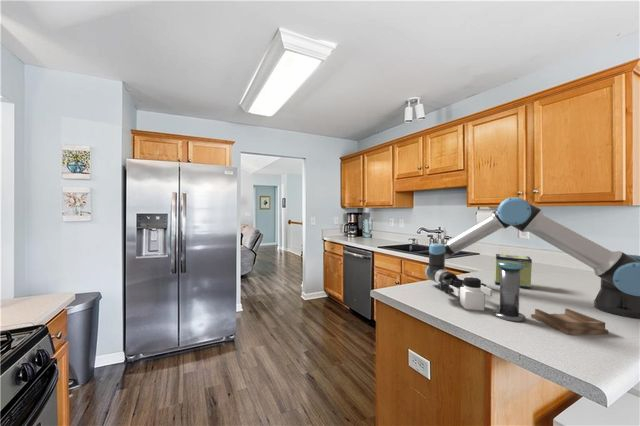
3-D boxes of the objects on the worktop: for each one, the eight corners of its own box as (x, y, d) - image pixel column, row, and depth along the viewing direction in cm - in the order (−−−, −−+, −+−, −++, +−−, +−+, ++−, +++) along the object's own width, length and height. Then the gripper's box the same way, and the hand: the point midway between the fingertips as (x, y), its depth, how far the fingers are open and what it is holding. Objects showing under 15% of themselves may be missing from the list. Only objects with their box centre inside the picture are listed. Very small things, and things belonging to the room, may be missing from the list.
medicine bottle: (484, 311, 107) (485, 280, 107) (464, 309, 108) (465, 279, 108) (477, 304, 114) (478, 276, 114) (459, 303, 115) (460, 275, 115)
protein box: (531, 289, 138) (532, 259, 137) (494, 284, 146) (495, 256, 146) (528, 285, 147) (529, 256, 146) (494, 280, 155) (495, 253, 155)
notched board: (566, 316, 102) (566, 307, 102) (608, 334, 88) (608, 323, 88) (531, 317, 101) (531, 307, 101) (568, 334, 87) (568, 323, 87)
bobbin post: (511, 311, 107) (512, 260, 107) (532, 321, 97) (534, 266, 97) (487, 311, 106) (488, 260, 106) (506, 322, 96) (508, 266, 96)
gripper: (471, 287, 131) (504, 302, 110) (421, 287, 129) (444, 302, 108) (471, 271, 131) (504, 283, 110) (421, 271, 129) (445, 283, 108)
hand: (475, 293), depth 109 cm, fingers open, 13 cm apart
